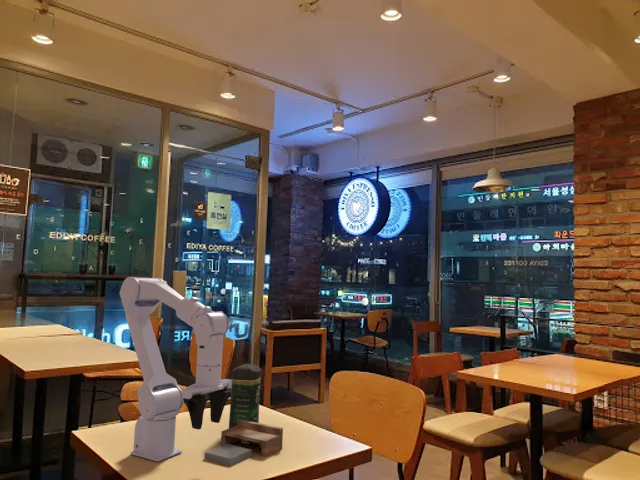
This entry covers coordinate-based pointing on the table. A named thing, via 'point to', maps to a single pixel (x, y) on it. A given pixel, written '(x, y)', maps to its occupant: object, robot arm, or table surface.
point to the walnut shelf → (255, 435)
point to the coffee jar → (245, 394)
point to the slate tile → (228, 454)
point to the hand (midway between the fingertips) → (206, 425)
